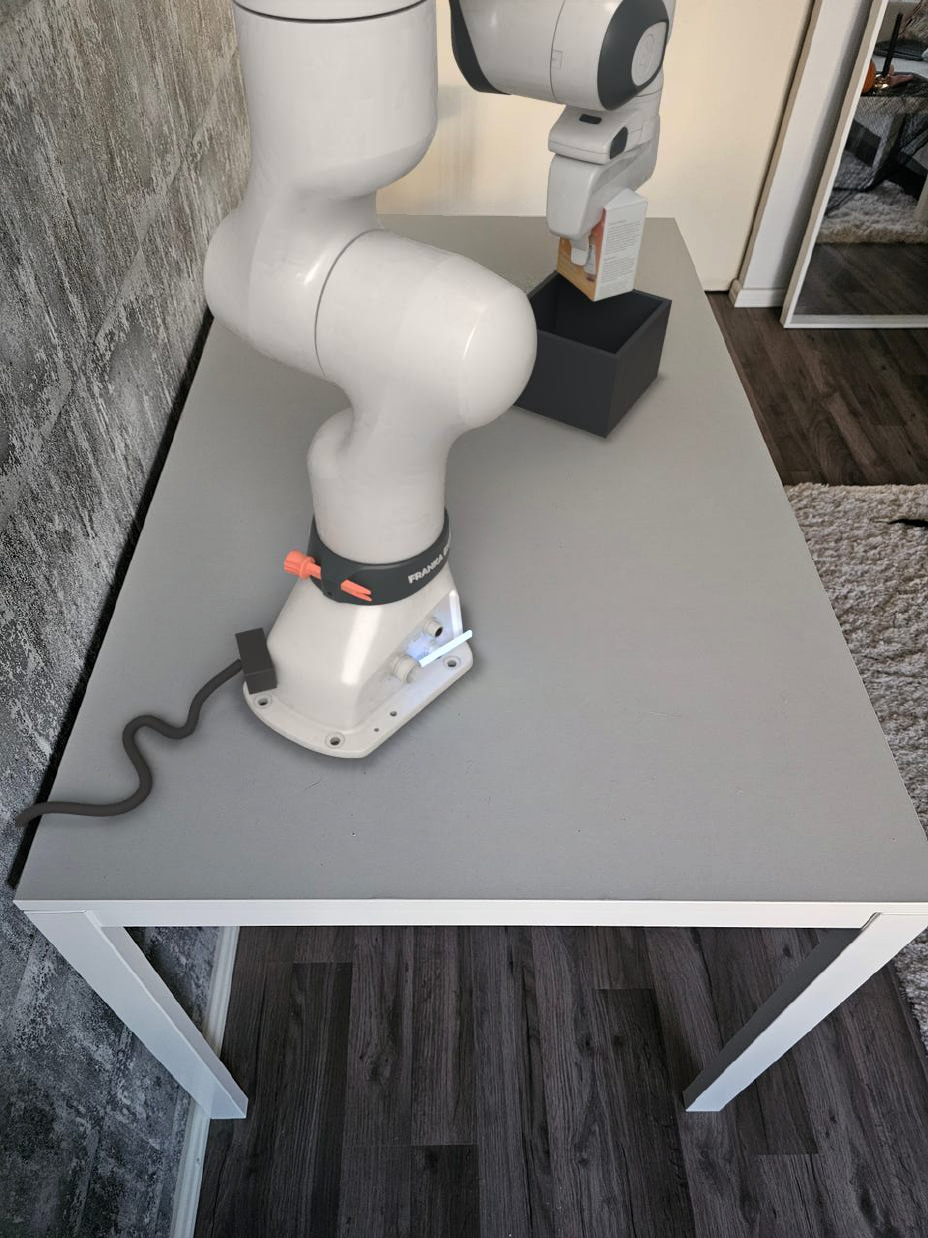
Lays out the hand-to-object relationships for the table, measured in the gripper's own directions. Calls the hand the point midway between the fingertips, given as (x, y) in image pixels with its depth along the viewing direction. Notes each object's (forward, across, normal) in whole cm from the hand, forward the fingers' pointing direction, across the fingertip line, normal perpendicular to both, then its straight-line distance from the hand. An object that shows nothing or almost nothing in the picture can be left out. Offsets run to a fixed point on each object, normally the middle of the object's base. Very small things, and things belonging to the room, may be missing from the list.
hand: (597, 246), depth 102 cm
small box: (+4, 0, 0) cm, 4 cm away
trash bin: (+19, 0, -1) cm, 19 cm away
